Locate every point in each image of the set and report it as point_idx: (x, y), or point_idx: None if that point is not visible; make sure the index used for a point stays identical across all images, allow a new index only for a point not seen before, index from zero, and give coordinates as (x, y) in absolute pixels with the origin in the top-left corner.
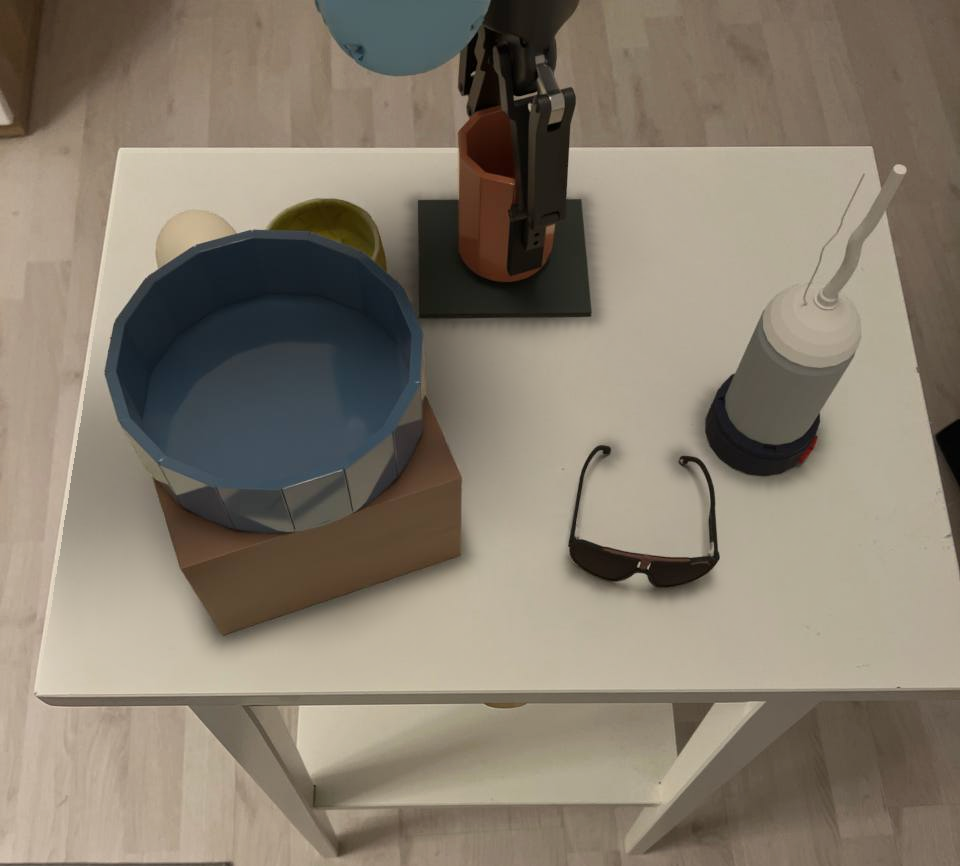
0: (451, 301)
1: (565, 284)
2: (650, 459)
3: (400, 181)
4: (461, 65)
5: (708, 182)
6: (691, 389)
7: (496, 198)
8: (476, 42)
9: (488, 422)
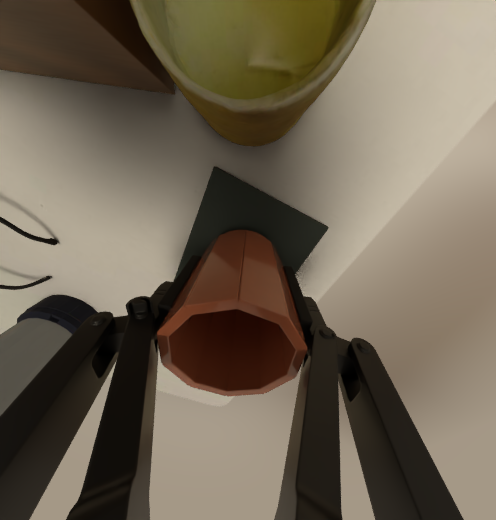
0: (215, 201)
1: None
2: (52, 262)
3: (358, 224)
4: (385, 386)
5: None
6: (106, 304)
7: (181, 298)
8: (390, 477)
9: (90, 170)
